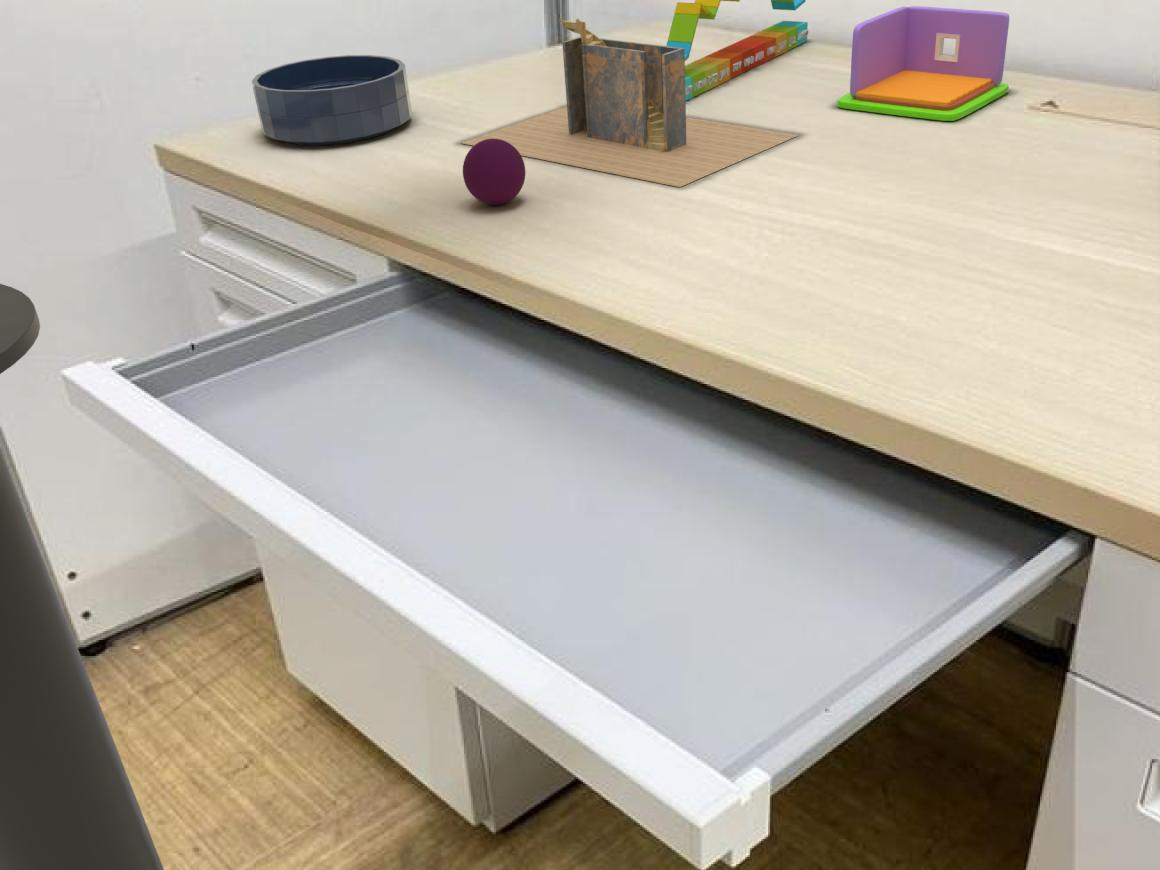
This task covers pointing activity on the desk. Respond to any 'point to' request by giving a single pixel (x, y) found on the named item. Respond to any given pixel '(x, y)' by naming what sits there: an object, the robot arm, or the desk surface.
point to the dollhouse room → (927, 62)
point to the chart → (734, 56)
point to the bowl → (332, 99)
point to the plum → (494, 171)
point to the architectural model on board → (631, 117)
